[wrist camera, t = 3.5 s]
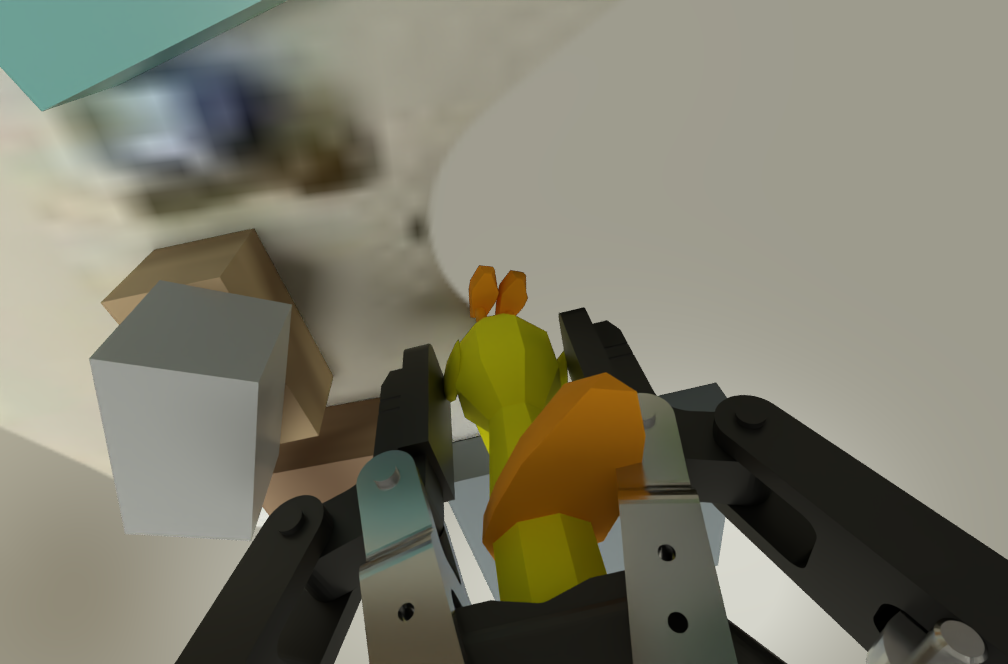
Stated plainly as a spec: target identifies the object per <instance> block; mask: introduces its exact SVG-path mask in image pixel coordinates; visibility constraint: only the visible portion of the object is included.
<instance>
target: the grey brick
mask: <svg viewBox="0 0 1008 664" xmlns="http://www.w3.org/2000/svg"><path fill="white" fill-rule="evenodd" d="M291 309H292V304H286V303H281V302H276V301H270V300H265V299H259V298H254V297H249V296H243V295H238V294H232V293H226V292H221V291H216V290H210V289H205V288H199V287H194V286H189V285H184V284H178V283H173V282H168V281H162V280H159V282H158V283H157V284H156V285H155V286H154V287H153V288H152V289H151V290H150V292H149V293H148V294H147V295H146V296H145V297H144V298H143V299H142V300H141V302H140V303H139V304H138V305H137V306H136V307H135V308H134V309H133V310H132V312H131V313H130V314H129V315H128V316H127V317H126V318H125V319H124V321H123V322H122V323H121V324H120V325H119V326H118V327H117V328H116V329H115V331H114V332H113V333H112V334H111V335H110V336H109V337H108V338H107V339H106V341H105V342H104V343H103V344H102V345H101V346H100V347H99V348H98V349H97V351H96V352H95V353H94V354H93V355H92V356H91V357H90V358H89V360H90V365H91V370H92V375H93V380H94V385H95V390H96V394H97V399H98V404H99V409H100V414H101V419H102V424H103V429H104V433H105V438H106V443H107V448H108V453H109V458H110V463H111V468H112V472H113V477H114V482H115V487H116V492H117V497H118V501H119V506H120V511H121V516H122V521H123V526H124V531H125V534H138V535H156V536H174V537H192V538H210V539H227V540H245V541H251V540H252V537H253V534H254V530H255V527H256V524H257V521H258V518H259V515H260V512H261V509H262V505H263V502H264V499H265V496H266V493H267V490H268V487H269V484H270V481H271V477H272V474H273V471H274V468H275V465H276V462H277V459H278V456H279V447H280V435H281V424H282V412H283V401H284V389H285V378H286V367H287V355H288V344H289V332H290V321H291Z"/></svg>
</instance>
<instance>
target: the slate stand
mask: <svg viewBox="0 0 1008 664" xmlns="http://www.w3.org/2000/svg"><path fill="white" fill-rule="evenodd" d="M658 397H661V398H662V399H664V400H665V401H667V402H668V403H669V404H670V405H671V406H672V407H674V408H677V409H681V410H686V411H707V412H715V409H716V407H717V406H718V404H719V403H720V402H722V401H723V400H725V399H727V397H726V396H725V394H724V393H723V392H722V390H721V389H720V387H719V386H718V384H717V383H712V384H708V385H704V386H699V387H695V388H691V389H686V390H681V391H678V392H673V393H668V394H664V395H660V396H658ZM452 447H453V467H454V486H455V500H452V501H449V504H450V506H451V508H452V510H453V513H454V515H455V517H456V519H457V521H458V523H459V525H460V527H461V529H462V531H463V534H464V536H465V538H466V540H467V542H468V544H469V546H470V548H471V550H472V552H473V555H474V556H475V559H476V560H477V563H478V565H479V567H480V569H481V571H482V573H483V576H484V578H485V580H486V582H487V584H488V586H489V588H490V590H491V592H492V594H493V597H494V599H495V601H500V595H499V588H498V580H497V573H496V565H495V560H494V559H493V557H492V556H491V555H490V553H489V552H488V550H487V549H486V547H485V546H484V544H483V543H482V535H483V515H484V513H485V510H486V507H487V504H488V502H489V499H490V490H489V453H488V451H487V448H486V446H485V444H484V442H483V439H482V437H481V436H480V437H476V438H471V439H467V440H463V441H458V442H454V443H452ZM700 505H701V509H702V513H703V517H704V522H705V526H706V530H707V535H708V539H709V543H710V547H711V552H712V556H713V560H714V564H715V566H717V565H718V561H719V554H720V548H721V541H722V534H723V528H724V522H725V516H724V515H723V514H722V513H721V512H720V511H719V510H718V509H717V508H716V507H715V506H714V505H713V504H712V503H706V502H700ZM598 546H599V550H600V553H601V556H602V559H603V562H604V565H605V569H606V572H607V574H610V573H614V572H618V571H623V570H625V567H624V556H623V545H622V533H621V522H620V515H619V517H618V519H617V520H616V522H615V523H614V525H613V527H612V528H611V530H610V532H609V533H608V535H607V536H606V538H605V540H604V541H603V542H600V543H598Z"/></svg>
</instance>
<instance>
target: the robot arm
mask: <svg viewBox="0 0 1008 664" xmlns="http://www.w3.org/2000/svg"><path fill="white" fill-rule="evenodd" d="M559 322H560V329H561V335H562V340H563V346H564V354H565V358H566V362H567V367H568V371H569V374H570V377H571V380H572V381H576V380H580V379H583V378H587V377H590V376H594V375H598V374H601V373H605V372H606V373H608V374H610V375H611V376H613V377H615V378H616V379H618V380H619V381H621V382H622V383H624V384H626V385H627V386H629V387H630V388H632V389H634V390H635V391H637V395H638V400H639V405H640V410H641V415H642V420H643V425H644V430H645V436H646V437H645V444H644V451H643V458H642V462H641V463H637V464H633V465H629V466H624V467H620V468H616V476H617V488H618V500H619V511H620V522H621V533H622V545H623V556H624V567H625V570H623V571H618V572H614V573H610V574H605V575H601V576H596V577H592V578H589V579H587V580H585V581H583V582H582V583H580V584H578V585H576V586H574V587H572V588H571V589H569V590H567V591H565V592H563V593H561V594H559V595H558V596H556V597H554V598H552V599H550V600H548V601H546V602H543V603H527V602H510V601H492V600H490V601H486V602H482V603H477V604H473V605H471V602H470V600H469V597H468V594H467V592H466V588H465V585H464V582H463V579H462V575H461V572H460V569H459V565H458V562H457V559H456V556H455V552H454V549H453V546H452V543H451V539H450V536H449V532H448V529H447V526H446V524H445V522H444V502H447V501H452V500H455V486H454V467H453V447H452V427H451V407H450V401H448V400H446V397H445V393H444V381H443V377H444V376H443V373H442V371H441V368H440V366H439V363H438V360H437V358H436V355H435V352H434V350H433V347H432V345H431V344H426V345H422V346H418V347H414V348H409V349H405V350H404V355H403V368H402V369H398V370H394V371H390V372H389V374H388V376H387V377H386V379H385V381H384V382H383V384H382V386H381V394H380V403H379V411H378V412H379V415H378V420H377V428H376V437H375V445H374V454H373V458H372V459H371V460H370V461H368V462H367V463H366V464H365V466H364V467H363V468H362V470H361V471H360V473H359V475H358V478H357V483H356V484H355V485H354V486H353V487H351V488H350V489H348V490H346V491H345V492H343V493H341V494H339V495H337V496H335V497H333V498H331V499H330V500H328V501H326V502H324V503H322V502H321V501H320V500H319V499H318V498H317V497H314V496H311V495H301V496H297V497H294V498H292V499H289V500H288V501H286V502H284V503H283V504H281V505H280V506H279V507H278V508H276V509H275V510H274V511H273V512H272V514H271V515H270V516H269V517H268V519H267V520H266V522H265V523H264V525H263V526H262V528H261V529H260V531H259V533H258V534H257V536H256V538H255V539H254V541H253V542H252V544H251V545H250V547H249V548H248V550H247V552H246V553H245V555H244V556H243V558H242V559H241V561H240V562H239V564H238V565H237V567H236V569H235V570H234V572H233V573H232V575H231V576H230V578H229V580H228V581H227V583H226V584H225V586H224V587H223V589H222V590H221V592H220V594H219V595H218V597H217V598H216V600H215V602H214V603H213V605H212V606H211V608H210V609H209V611H208V612H207V614H206V616H205V617H204V619H203V620H202V622H201V623H200V625H199V627H198V628H197V630H196V631H195V633H194V634H193V636H192V637H191V639H190V641H189V642H188V644H187V645H186V647H185V649H184V650H183V652H182V653H181V655H180V656H179V658H178V660H177V661H176V662H175V664H334V662H335V660H336V658H337V655H338V653H339V650H340V648H341V646H342V643H343V641H344V639H345V636H346V634H347V632H348V629H349V627H350V625H351V622H352V620H353V617H354V615H355V613H356V610H357V608H358V606H359V603H360V601H361V599H362V605H363V614H364V622H365V630H366V639H367V647H368V655H369V664H787V663H785V662H784V661H783V660H781V659H780V658H779V657H777V656H776V655H775V654H773V653H772V652H771V651H770V650H768V649H767V648H766V647H764V646H763V645H762V644H760V643H759V642H757V641H756V640H755V639H754V638H752V637H751V636H750V635H748V634H747V633H745V632H744V631H743V630H742V629H740V628H739V627H738V626H736V625H735V624H734V623H732V622H731V621H730V620H728V619H727V616H726V612H725V607H724V603H723V599H722V594H721V590H720V586H719V582H718V577H717V574H716V569H715V564H714V560H713V556H712V552H711V547H710V543H709V539H708V535H707V530H706V526H705V522H704V517H703V513H702V509H701V505H700V502H706V503H712V504H713V505H714V506H715V507H716V508H717V509H718V510H719V511H720V512H721V513H722V514H723V515H724V516H725V517H726V518H727V519H728V520H729V521H730V522H732V523H733V524H734V525H735V526H736V527H737V528H738V529H739V530H740V531H741V532H742V533H743V534H744V535H745V536H746V537H747V538H749V540H751V541H752V542H753V543H754V544H755V545H756V546H757V547H758V548H759V549H760V550H761V551H762V552H763V553H764V554H765V555H766V556H767V557H768V558H769V559H771V560H772V561H773V562H774V563H775V564H776V565H777V566H778V567H779V568H780V569H781V570H782V571H783V572H784V573H785V574H786V575H787V576H789V577H790V578H791V579H792V580H793V581H794V582H795V583H796V584H797V585H798V586H799V587H800V588H801V589H802V590H803V591H804V592H805V593H806V594H807V595H809V596H810V597H811V598H812V599H813V600H814V601H815V602H816V603H817V604H818V605H819V606H820V607H821V608H822V609H824V611H825V612H826V613H828V615H830V616H831V617H832V618H833V619H834V620H835V621H836V622H837V623H838V624H839V625H840V626H841V627H842V628H843V629H844V630H846V632H848V633H849V634H850V635H851V636H852V637H853V638H854V639H855V640H856V641H857V642H858V643H859V644H860V645H861V646H862V647H863V648H865V650H867V652H868V653H867V658H866V664H1008V560H1007V559H1005V558H1004V557H1003V556H1001V555H999V554H998V553H997V552H995V551H994V550H992V549H991V548H989V547H988V546H986V545H985V544H983V543H982V542H980V541H979V540H977V539H976V538H974V537H973V536H971V535H969V534H968V533H966V532H965V531H964V530H962V529H960V528H959V527H957V526H956V525H955V524H953V523H951V522H950V521H948V520H947V519H945V518H944V517H942V516H941V515H939V514H938V513H936V512H935V511H933V510H932V509H930V508H929V507H927V506H926V505H924V504H923V503H921V502H920V501H918V500H917V499H915V498H914V497H912V496H911V495H909V494H908V493H906V492H905V491H903V490H902V489H900V488H899V487H897V486H896V485H894V484H893V483H891V482H890V481H888V480H887V479H885V478H884V477H882V476H881V475H879V474H878V473H876V472H875V471H873V470H872V469H870V468H869V467H867V466H866V465H864V464H863V463H861V462H860V461H858V460H857V459H855V458H854V457H852V456H851V455H849V454H848V453H846V452H845V451H843V450H842V449H840V448H839V447H837V446H836V445H834V444H833V443H831V442H830V441H828V440H826V439H825V438H824V437H822V436H821V435H819V434H818V433H816V432H814V431H813V430H812V429H810V428H809V427H807V426H806V425H804V424H802V423H801V422H800V421H798V420H797V419H795V418H794V417H792V416H791V415H789V414H788V413H786V412H785V411H783V410H782V409H780V408H779V407H777V406H775V405H774V404H772V403H771V402H769V401H767V400H765V399H762V398H759V397H755V396H748V395H739V396H732V397H729V398H727V399H725V400H723V401H722V402H720V403H719V404H718V406H717V407H716V409H715V412H707V411H686V410H681V409H677V408H674V407H672V406H671V405H670V404H669V403H668V402H667V401H665V400H664V399H662V398H661V397H658V396H656V394H655V393H654V391H653V389H652V387H651V386H650V384H649V382H648V380H647V378H646V376H645V375H644V372H643V371H642V369H641V367H640V365H639V363H638V361H637V360H636V358H635V356H634V355H633V352H632V350H631V349H630V347H629V345H628V344H627V341H626V339H625V337H624V336H623V334H622V332H621V330H620V329H619V328H617V327H616V326H614V325H613V324H611V323H610V322H609V321H607V320H606V321H603V322H598V323H594V324H592V322H591V320H590V318H589V315H588V313H587V311H586V309H585V308H579V309H575V310H571V311H567V312H562V313H559Z"/></svg>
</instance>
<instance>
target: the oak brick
mask: <svg viewBox="0 0 1008 664" xmlns="http://www.w3.org/2000/svg"><path fill="white" fill-rule="evenodd" d="M159 280H162V281H168V282H173V283H178V284H184V285H189V286H194V287H199V288H205V289H210V290H216V291H221V292H226V293H232V294H238V295H243V296H249V297H254V298H259V299H265V300H270V301H276V302H281V303H286V304H292V309H291V321H290V332H289V344H288V355H287V367H286V378H285V389H284V401H283V412H282V424H281V435H280V444H282V443H286V442H291V441H296V440H301V439H305V438H310V437H315V436H319V432H320V428H321V424H322V420H323V416H324V412H325V408H326V404H327V400H328V396H329V392H330V388H331V384H332V380H333V375H332V373H331V372H330V370H329V368H328V366H327V364H326V362H325V360H324V358H323V357H322V355H321V353H320V351H319V349H318V347H317V345H316V344H315V342H314V340H313V338H312V336H311V334H310V332H309V330H308V329H307V327H306V325H305V323H304V321H303V319H302V317H301V315H300V314H299V312H298V310H297V308H296V306H295V304H294V302H293V300H292V299H291V297H290V295H289V293H288V291H287V289H286V287H285V286H284V284H283V282H282V280H281V278H280V276H279V274H278V272H277V271H276V269H275V267H274V265H273V263H272V261H271V259H270V257H269V256H268V254H267V252H266V250H265V248H264V246H263V244H262V242H261V241H260V239H259V237H258V235H257V233H256V231H255V229H249V230H244V231H240V232H235V233H230V234H226V235H221V236H216V237H212V238H207V239H202V240H198V241H193V242H188V243H184V244H179V245H175V246H170V247H165V248H161V249H156V250H154V251H153V252H152V253H151V254H150V255H149V256H148V257H146V258H145V259H144V260H143V261H142V262H141V263H140V264H139V265H138V266H137V267H136V268H135V269H134V270H133V271H132V272H131V273H130V274H129V275H128V276H127V277H126V278H125V279H124V280H123V281H122V282H121V283H120V284H119V285H118V286H117V287H116V288H115V289H114V290H113V291H112V292H111V293H110V294H109V295H108V296H107V297H106V298H105V299H104V300H103V301H102V302H101V304H102V305H103V306H104V307H105V309H106V310H107V311H108V312H109V313H110V315H111V316H112V317H113V318H114V319H115V321H116V322H117V323H118V324H119V325H120V324H121V323H122V322H123V321H124V319H125V318H126V317H127V316H128V315H129V314H130V313H131V312H132V310H133V309H134V308H135V307H136V306H137V305H138V304H139V303H140V302H141V300H142V299H143V298H144V297H145V296H146V295H147V294H148V293H149V292H150V290H151V289H152V288H153V287H154V286H155V285H156V284H157V283H158V282H159Z"/></svg>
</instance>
